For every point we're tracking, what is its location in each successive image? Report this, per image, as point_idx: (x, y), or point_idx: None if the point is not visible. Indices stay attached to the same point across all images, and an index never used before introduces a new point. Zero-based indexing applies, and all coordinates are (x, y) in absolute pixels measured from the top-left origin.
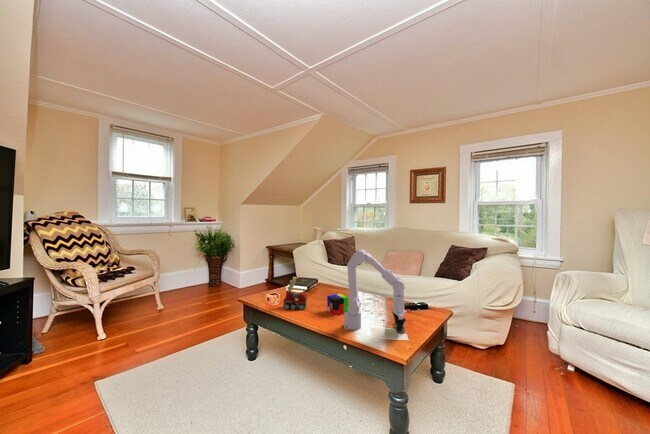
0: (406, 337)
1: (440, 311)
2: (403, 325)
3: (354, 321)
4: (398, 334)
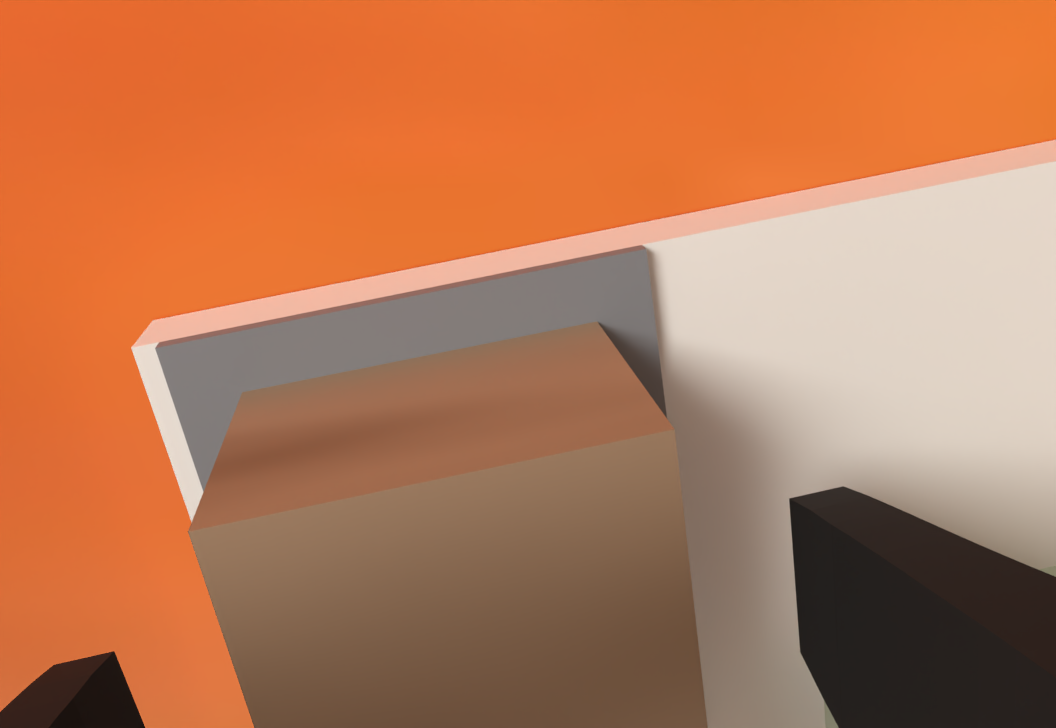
0: (1007, 228)
1: None
2: (458, 508)
3: None
4: (785, 535)
